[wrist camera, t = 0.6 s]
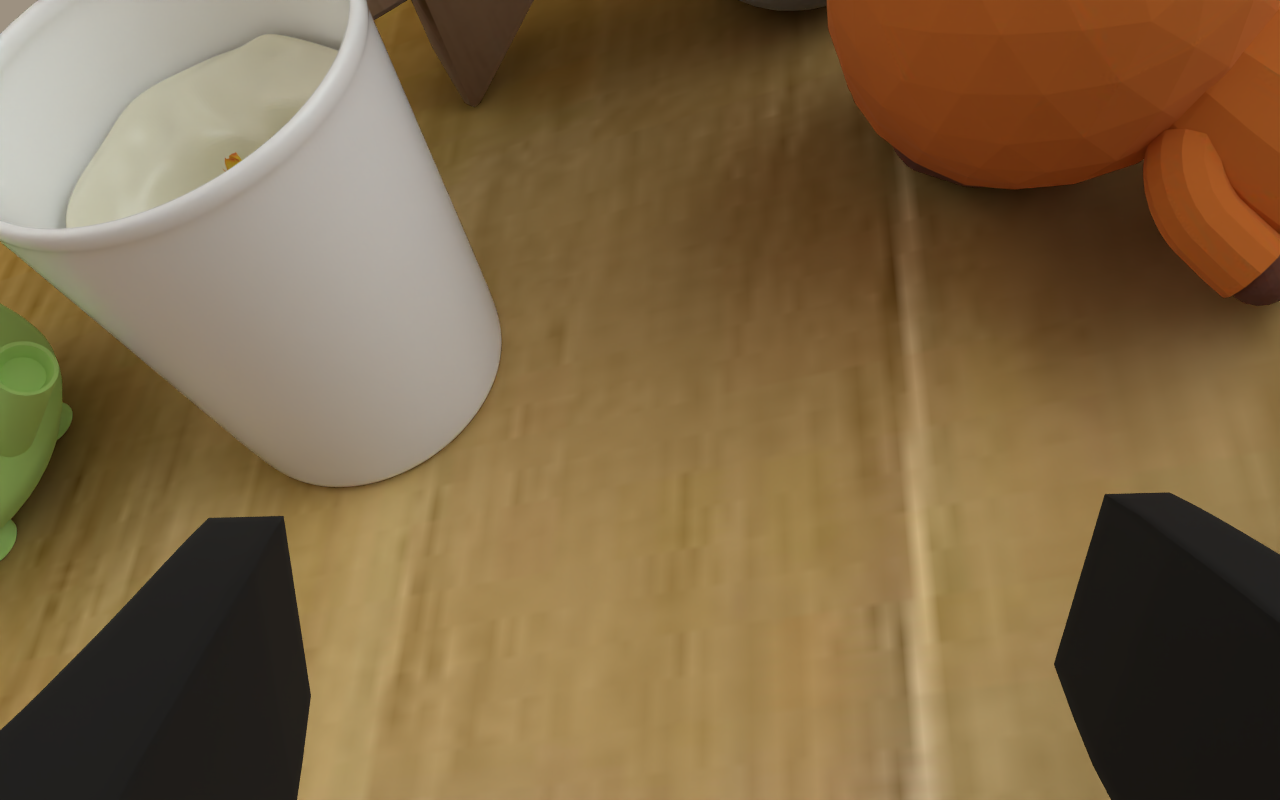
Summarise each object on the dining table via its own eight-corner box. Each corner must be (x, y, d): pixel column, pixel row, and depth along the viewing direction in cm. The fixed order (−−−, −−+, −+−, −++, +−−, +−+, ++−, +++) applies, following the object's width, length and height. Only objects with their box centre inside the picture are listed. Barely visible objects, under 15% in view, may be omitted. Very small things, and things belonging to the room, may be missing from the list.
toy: (1339, 115, 33) (906, -139, 35) (1720, -140, 22) (1046, -509, 23) (1170, 407, 32) (723, 130, 33) (1483, 300, 20) (774, -120, 21)
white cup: (450, 547, 30) (215, 265, 20) (165, 479, 34) (-154, 209, 24) (575, 263, 35) (432, -82, 25) (313, 228, 38) (96, -86, 28)
